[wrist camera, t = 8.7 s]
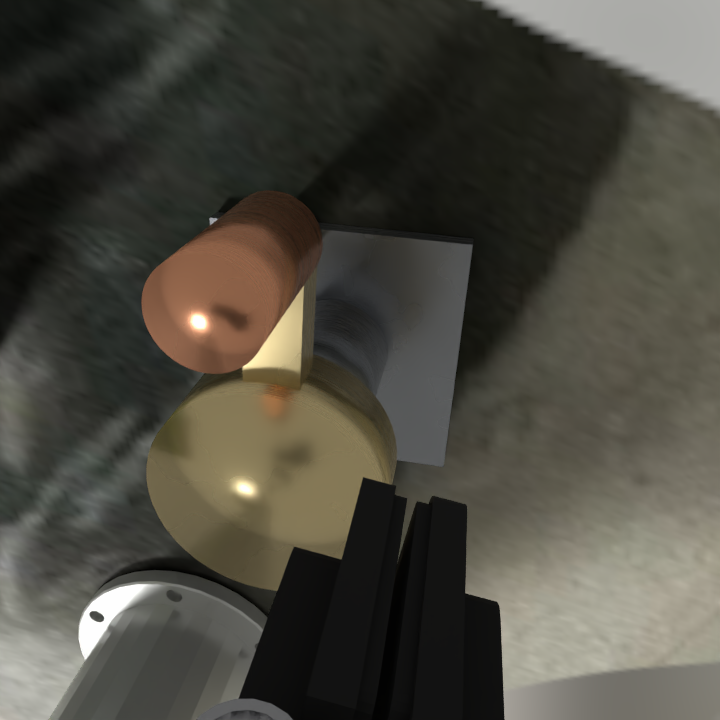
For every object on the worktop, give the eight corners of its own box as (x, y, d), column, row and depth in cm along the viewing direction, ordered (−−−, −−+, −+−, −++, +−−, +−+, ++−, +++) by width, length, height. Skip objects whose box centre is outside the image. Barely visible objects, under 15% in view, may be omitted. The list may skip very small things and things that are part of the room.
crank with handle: (386, 546, 23) (348, 726, 18) (189, 509, 24) (92, 670, 18) (431, 188, 17) (397, 282, 12) (169, 156, 18) (18, 230, 13)
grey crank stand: (444, 456, 30) (424, 623, 22) (228, 424, 32) (134, 571, 24) (474, 230, 25) (462, 339, 17) (216, 204, 27) (94, 294, 19)
